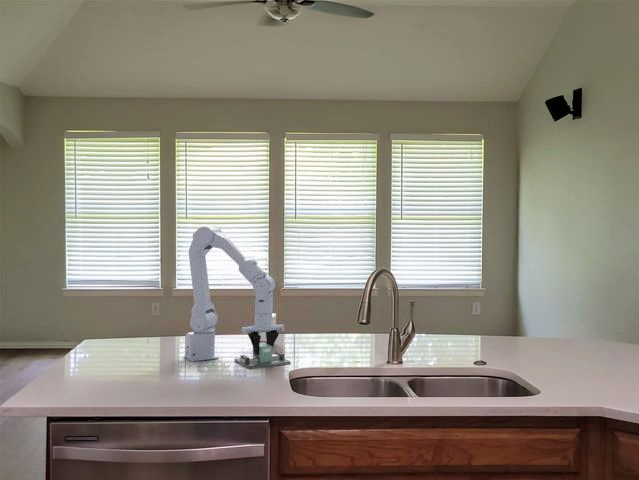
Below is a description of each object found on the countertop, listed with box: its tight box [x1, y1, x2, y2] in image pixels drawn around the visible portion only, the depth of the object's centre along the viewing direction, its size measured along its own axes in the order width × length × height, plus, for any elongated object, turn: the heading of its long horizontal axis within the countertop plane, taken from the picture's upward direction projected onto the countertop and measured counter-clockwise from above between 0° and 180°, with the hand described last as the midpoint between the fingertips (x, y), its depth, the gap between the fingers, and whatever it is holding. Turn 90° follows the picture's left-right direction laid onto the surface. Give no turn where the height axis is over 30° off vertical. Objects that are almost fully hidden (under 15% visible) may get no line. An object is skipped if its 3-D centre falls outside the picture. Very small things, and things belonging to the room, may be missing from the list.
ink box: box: [259, 313, 277, 345], centre depth 204 cm, size 9×5×12 cm, turn 177°
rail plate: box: [234, 350, 292, 370], centre depth 178 cm, size 15×11×3 cm
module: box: [252, 343, 273, 363], centre depth 179 cm, size 4×6×5 cm, turn 31°
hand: (262, 354), depth 178 cm, fingers closed on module, 4 cm apart
